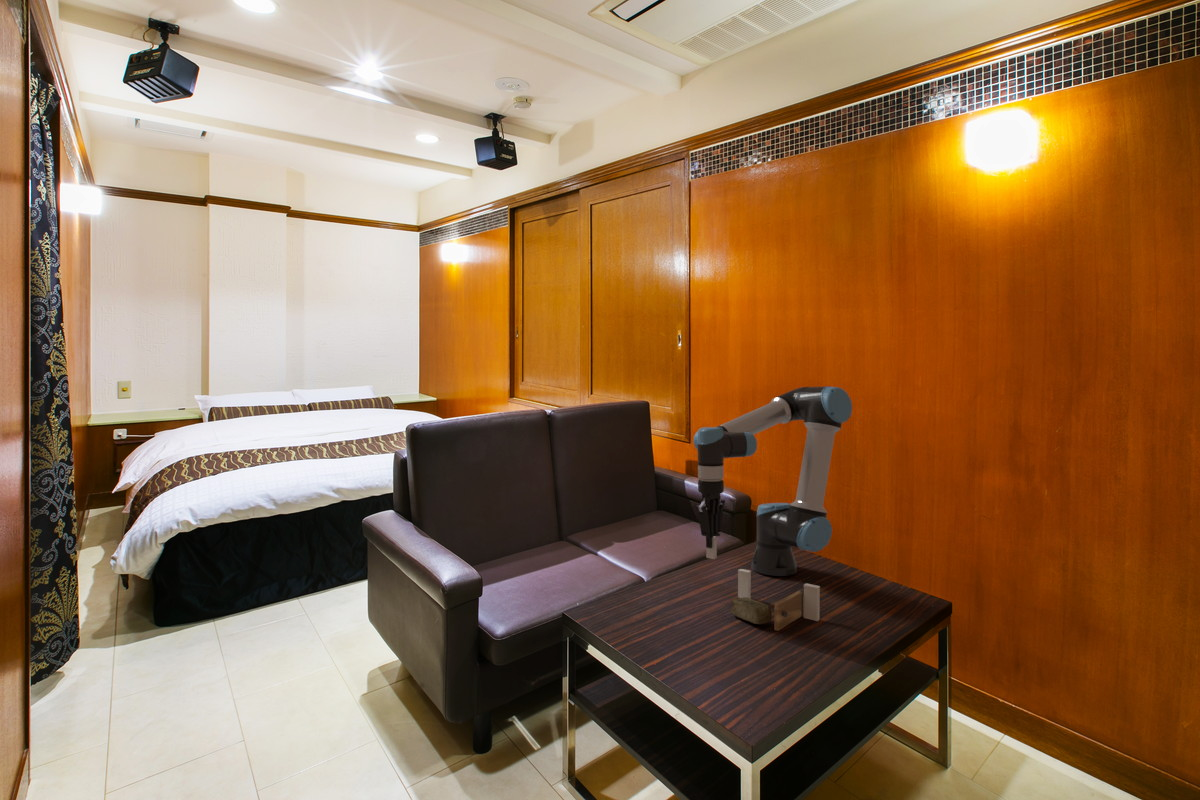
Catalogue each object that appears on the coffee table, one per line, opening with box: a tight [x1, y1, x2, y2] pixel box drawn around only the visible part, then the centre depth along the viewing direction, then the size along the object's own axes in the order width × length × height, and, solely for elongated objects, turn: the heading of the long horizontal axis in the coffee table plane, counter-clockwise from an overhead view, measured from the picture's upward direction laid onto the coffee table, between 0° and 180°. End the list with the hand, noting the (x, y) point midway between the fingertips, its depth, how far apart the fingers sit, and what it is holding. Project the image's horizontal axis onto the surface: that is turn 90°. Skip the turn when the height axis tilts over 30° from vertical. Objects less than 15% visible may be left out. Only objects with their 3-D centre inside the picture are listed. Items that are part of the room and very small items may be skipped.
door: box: [773, 589, 804, 631], centre depth 165 cm, size 3×16×7 cm, turn 137°
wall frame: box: [737, 568, 821, 622], centre depth 175 cm, size 2×25×10 cm, turn 49°
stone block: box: [731, 597, 773, 625], centre depth 167 cm, size 6×12×5 cm, turn 29°
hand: (711, 557), depth 175 cm, fingers closed
